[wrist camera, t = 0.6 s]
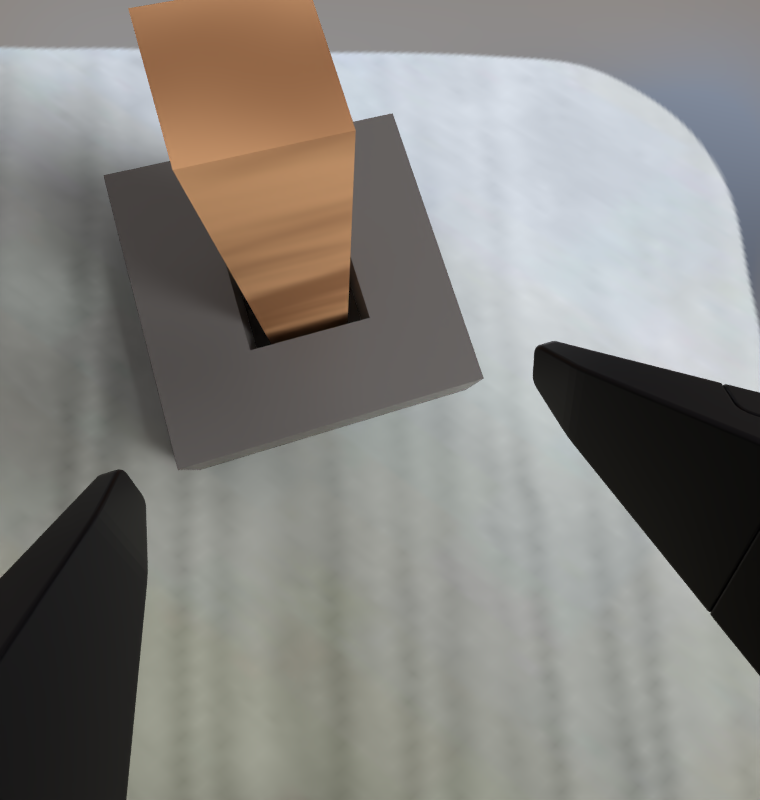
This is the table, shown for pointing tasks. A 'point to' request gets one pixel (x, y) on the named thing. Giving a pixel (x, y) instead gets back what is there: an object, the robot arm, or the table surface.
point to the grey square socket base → (303, 356)
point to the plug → (259, 148)
